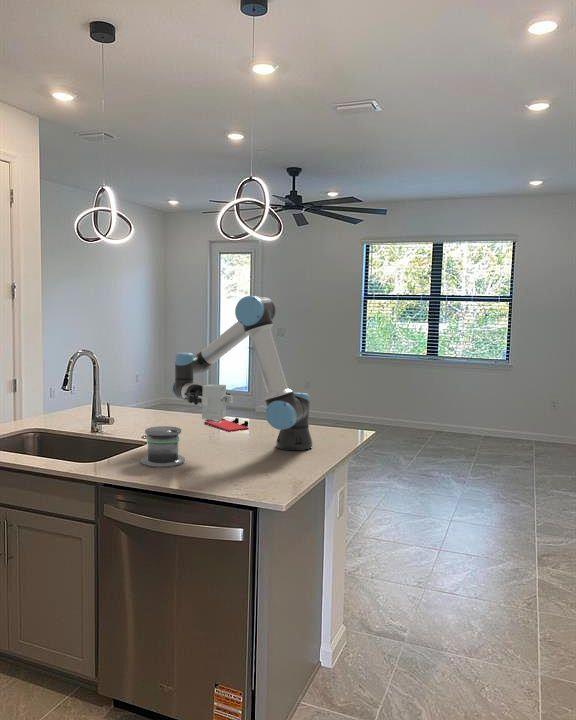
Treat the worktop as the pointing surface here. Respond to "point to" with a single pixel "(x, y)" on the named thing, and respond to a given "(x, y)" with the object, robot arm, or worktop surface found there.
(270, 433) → the worktop surface
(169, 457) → the grey round canister
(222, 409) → the supplement box
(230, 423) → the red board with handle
